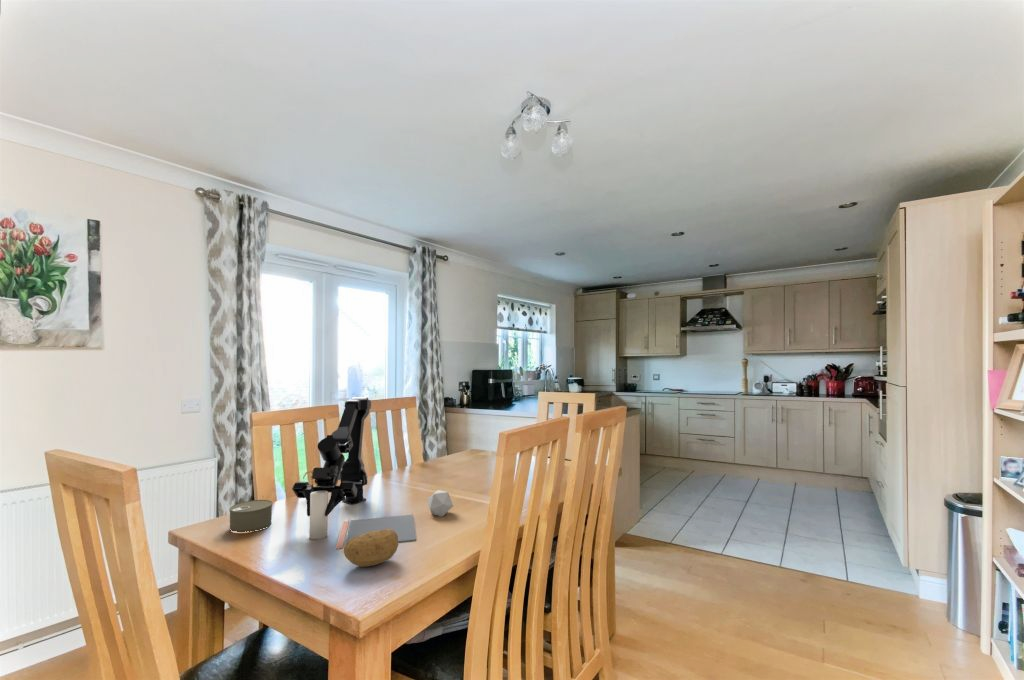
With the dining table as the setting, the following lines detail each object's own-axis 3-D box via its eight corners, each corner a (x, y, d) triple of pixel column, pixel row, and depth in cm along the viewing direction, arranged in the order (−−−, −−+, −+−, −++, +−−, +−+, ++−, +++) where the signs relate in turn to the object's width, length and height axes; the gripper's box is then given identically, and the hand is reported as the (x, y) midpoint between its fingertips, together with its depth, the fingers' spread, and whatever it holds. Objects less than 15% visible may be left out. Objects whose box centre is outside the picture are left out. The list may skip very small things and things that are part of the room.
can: (279, 525, 145) (279, 503, 145) (240, 537, 135) (240, 514, 135) (260, 518, 152) (261, 497, 152) (221, 529, 142) (222, 507, 142)
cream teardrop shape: (306, 536, 135) (306, 493, 136) (321, 531, 139) (322, 489, 140) (315, 540, 132) (316, 496, 133) (330, 535, 136) (331, 492, 137)
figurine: (325, 493, 180) (326, 462, 180) (325, 497, 174) (325, 466, 175) (303, 495, 177) (303, 464, 177) (301, 499, 171) (302, 468, 172)
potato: (339, 564, 117) (339, 533, 118) (392, 551, 125) (392, 522, 125) (348, 579, 109) (348, 546, 109) (403, 564, 117) (404, 533, 117)
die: (457, 515, 155) (453, 488, 161) (447, 510, 148) (443, 482, 154) (436, 523, 156) (432, 496, 162) (425, 518, 149) (422, 490, 155)
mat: (344, 548, 127) (344, 546, 127) (351, 521, 148) (351, 520, 148) (416, 540, 132) (416, 539, 132) (412, 515, 153) (412, 514, 153)
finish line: (342, 548, 127) (342, 547, 127) (336, 549, 126) (336, 548, 126) (348, 521, 148) (348, 520, 148) (343, 522, 147) (343, 521, 147)
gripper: (295, 456, 141) (276, 502, 129) (354, 455, 141) (340, 502, 129) (306, 474, 148) (289, 520, 137) (362, 474, 148) (350, 520, 137)
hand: (316, 515), depth 135 cm, fingers closed on cream teardrop shape, 5 cm apart
